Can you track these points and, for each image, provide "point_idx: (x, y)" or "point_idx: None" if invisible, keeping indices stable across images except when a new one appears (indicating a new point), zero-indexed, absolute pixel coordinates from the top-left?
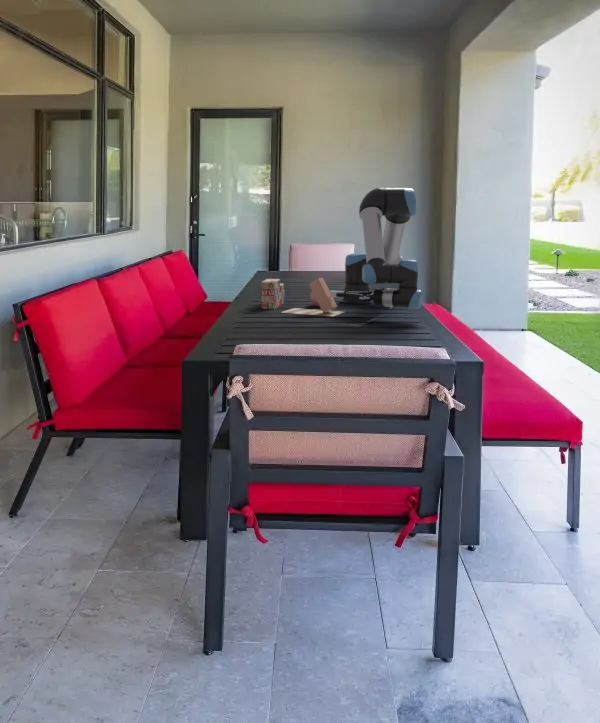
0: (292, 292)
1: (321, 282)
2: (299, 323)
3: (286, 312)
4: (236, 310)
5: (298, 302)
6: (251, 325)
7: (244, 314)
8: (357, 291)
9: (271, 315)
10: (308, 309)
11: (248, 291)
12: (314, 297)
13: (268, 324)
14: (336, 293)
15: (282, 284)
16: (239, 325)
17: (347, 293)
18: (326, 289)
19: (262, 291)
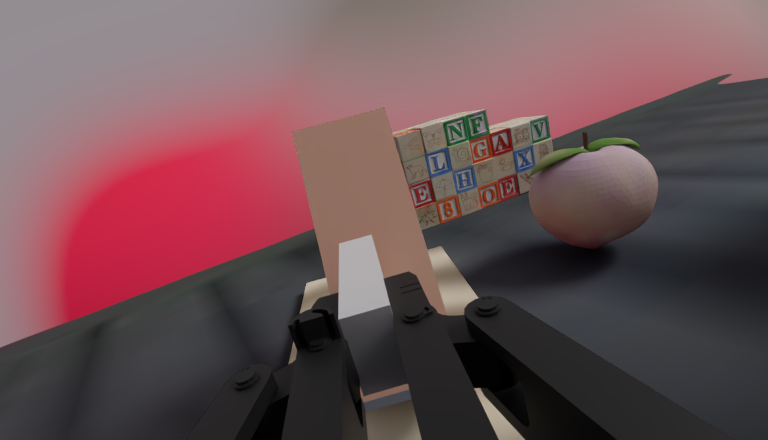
0: (724, 113)
1: (322, 160)
2: None
3: (311, 291)
4: None
5: None
6: (9, 380)
7: (274, 257)
8: (585, 377)
9: (280, 289)
10: (450, 279)
11: (602, 121)
12: (533, 203)
13: (20, 402)
14: (317, 301)
15: (522, 123)
16: (23, 359)
17: (196, 428)
18: (367, 216)
19: None
